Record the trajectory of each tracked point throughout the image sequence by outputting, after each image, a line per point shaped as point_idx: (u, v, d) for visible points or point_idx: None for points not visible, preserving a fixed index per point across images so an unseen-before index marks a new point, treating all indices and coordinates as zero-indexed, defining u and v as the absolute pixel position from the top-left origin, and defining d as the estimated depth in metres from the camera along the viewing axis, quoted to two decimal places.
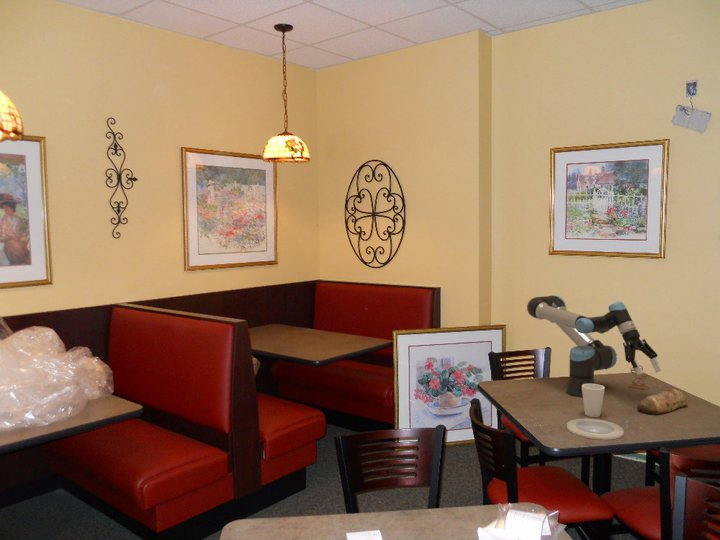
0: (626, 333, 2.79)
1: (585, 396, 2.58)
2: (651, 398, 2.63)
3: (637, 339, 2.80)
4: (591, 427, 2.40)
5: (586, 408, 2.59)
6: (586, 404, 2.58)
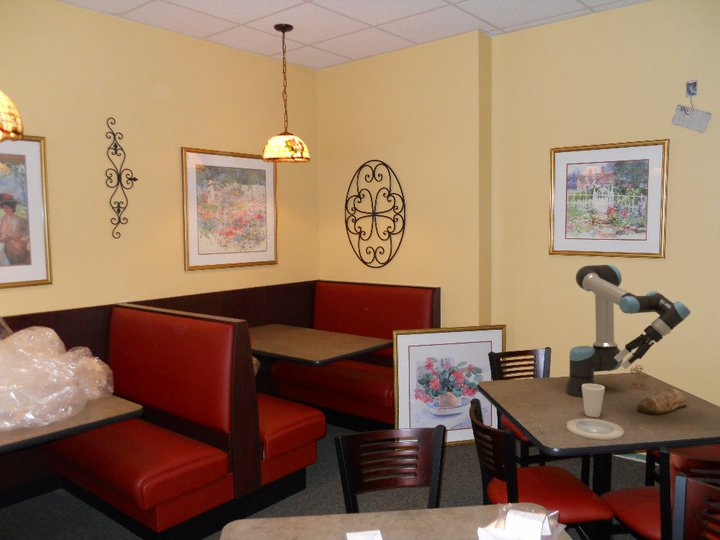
0: (659, 335, 2.49)
1: (585, 396, 2.58)
2: (651, 398, 2.63)
3: None
4: (591, 427, 2.40)
5: (586, 408, 2.59)
6: (586, 404, 2.58)
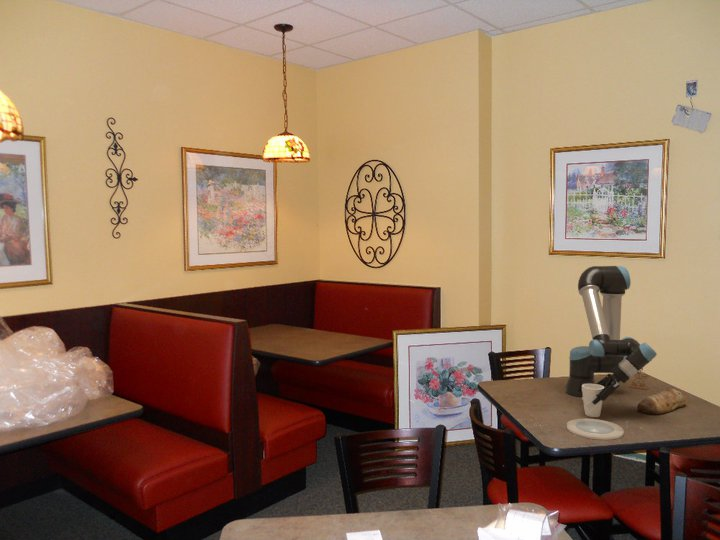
0: (625, 376, 2.53)
1: (585, 396, 2.58)
2: (651, 398, 2.63)
3: None
4: (591, 427, 2.40)
5: (586, 408, 2.59)
6: None
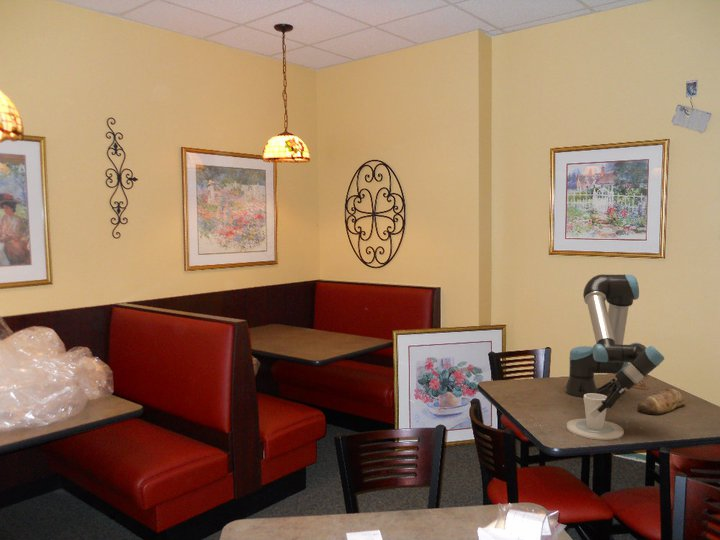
0: (630, 382, 2.33)
1: (587, 407, 2.39)
2: (651, 398, 2.62)
3: None
4: None
5: (588, 420, 2.39)
6: (588, 416, 2.39)
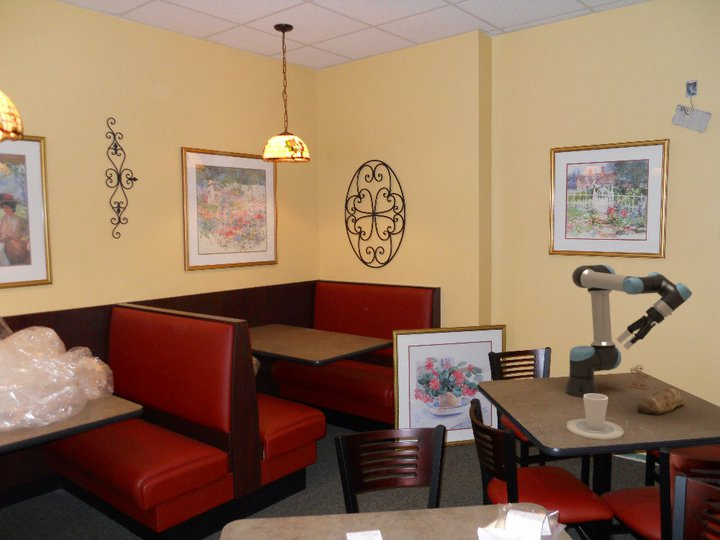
0: (660, 316, 2.52)
1: (587, 407, 2.39)
2: (651, 398, 2.62)
3: None
4: None
5: (588, 420, 2.39)
6: (588, 416, 2.39)
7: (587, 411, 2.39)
